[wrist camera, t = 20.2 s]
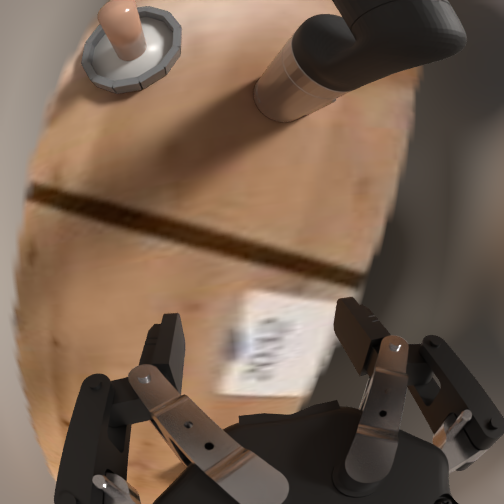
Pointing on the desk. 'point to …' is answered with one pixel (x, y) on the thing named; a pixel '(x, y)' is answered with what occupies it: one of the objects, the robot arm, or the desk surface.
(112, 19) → the pink cylinder
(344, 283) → the desk surface
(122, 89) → the round tray
